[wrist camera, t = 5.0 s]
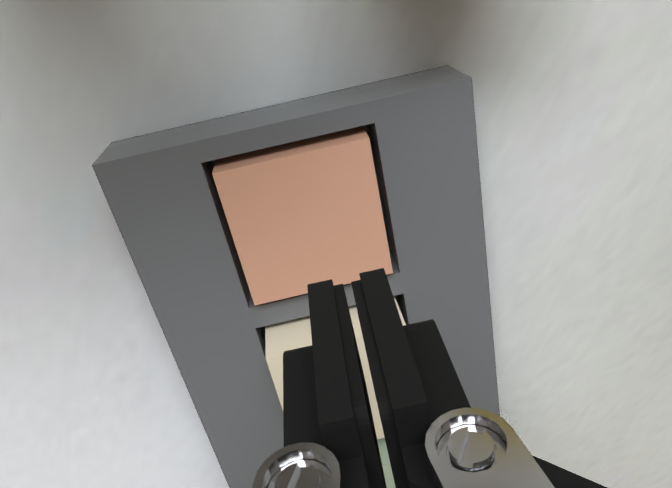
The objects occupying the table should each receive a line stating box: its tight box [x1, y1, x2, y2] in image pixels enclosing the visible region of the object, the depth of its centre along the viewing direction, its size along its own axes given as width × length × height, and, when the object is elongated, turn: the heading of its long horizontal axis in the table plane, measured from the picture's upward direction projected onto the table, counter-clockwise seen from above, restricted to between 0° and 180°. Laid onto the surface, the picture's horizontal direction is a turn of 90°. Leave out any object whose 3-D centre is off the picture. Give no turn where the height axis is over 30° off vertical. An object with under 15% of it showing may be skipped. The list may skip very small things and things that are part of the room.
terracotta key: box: [212, 126, 393, 305], centre depth 19 cm, size 5×5×2 cm
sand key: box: [265, 296, 406, 439], centre depth 21 cm, size 5×5×2 cm
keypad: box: [92, 65, 500, 488], centre depth 23 cm, size 12×20×2 cm, turn 12°
